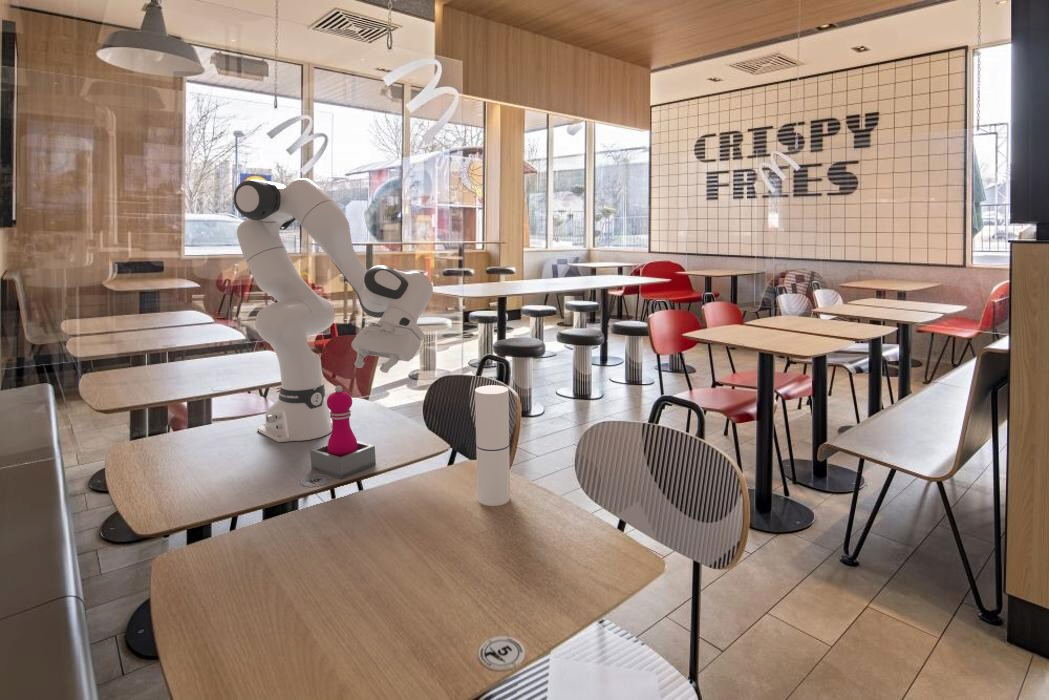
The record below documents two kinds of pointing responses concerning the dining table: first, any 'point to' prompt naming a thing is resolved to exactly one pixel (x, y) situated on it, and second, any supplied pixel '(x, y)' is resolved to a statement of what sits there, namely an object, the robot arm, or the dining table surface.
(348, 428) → the pepper mill
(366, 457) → the box
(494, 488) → the cylindrical container
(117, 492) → the dining table surface
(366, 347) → the robot arm
